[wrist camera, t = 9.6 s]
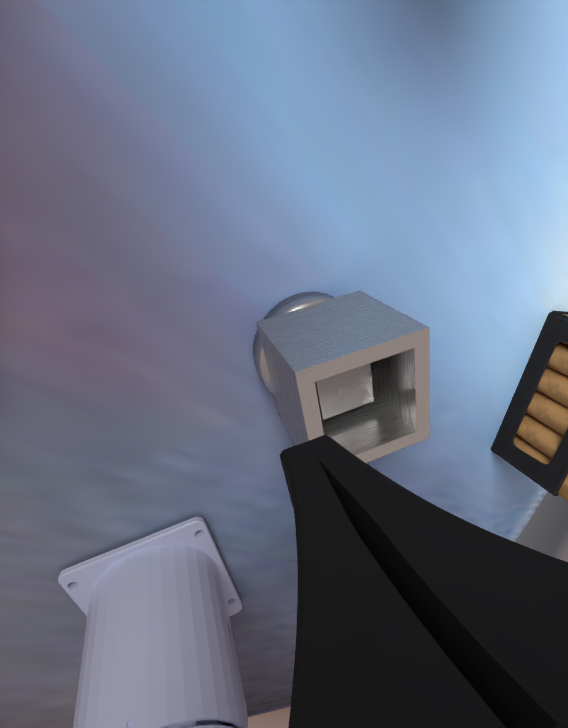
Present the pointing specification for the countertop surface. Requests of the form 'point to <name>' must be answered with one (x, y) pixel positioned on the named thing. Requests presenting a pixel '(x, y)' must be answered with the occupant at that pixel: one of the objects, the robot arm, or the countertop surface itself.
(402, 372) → the hollow square box
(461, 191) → the countertop surface
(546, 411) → the ammunition clip
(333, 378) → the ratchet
